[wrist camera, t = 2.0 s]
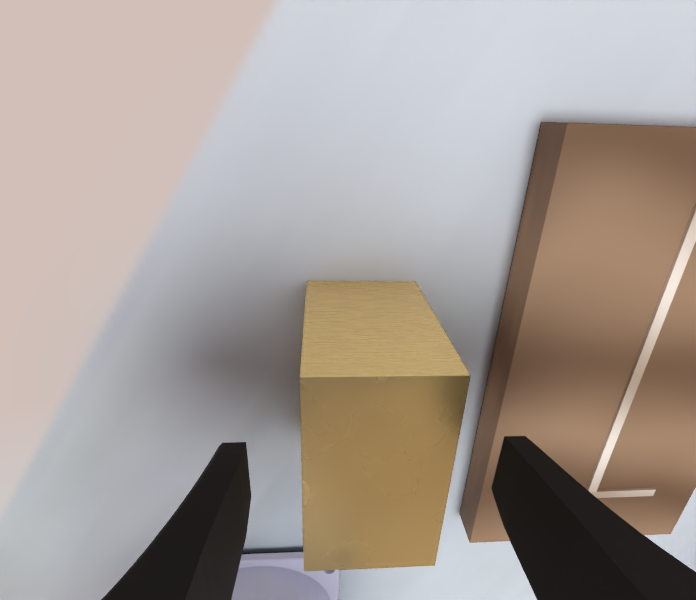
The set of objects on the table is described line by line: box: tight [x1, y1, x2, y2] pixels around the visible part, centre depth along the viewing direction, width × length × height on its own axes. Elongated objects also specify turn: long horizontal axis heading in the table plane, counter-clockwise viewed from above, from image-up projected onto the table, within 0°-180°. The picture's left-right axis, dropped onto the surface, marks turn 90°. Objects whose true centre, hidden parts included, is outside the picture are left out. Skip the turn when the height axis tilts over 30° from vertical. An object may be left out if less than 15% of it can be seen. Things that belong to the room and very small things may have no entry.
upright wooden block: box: [300, 281, 470, 571], centre depth 14 cm, size 7×4×6 cm, turn 178°
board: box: [460, 122, 696, 543], centre depth 16 cm, size 18×10×2 cm, turn 178°
